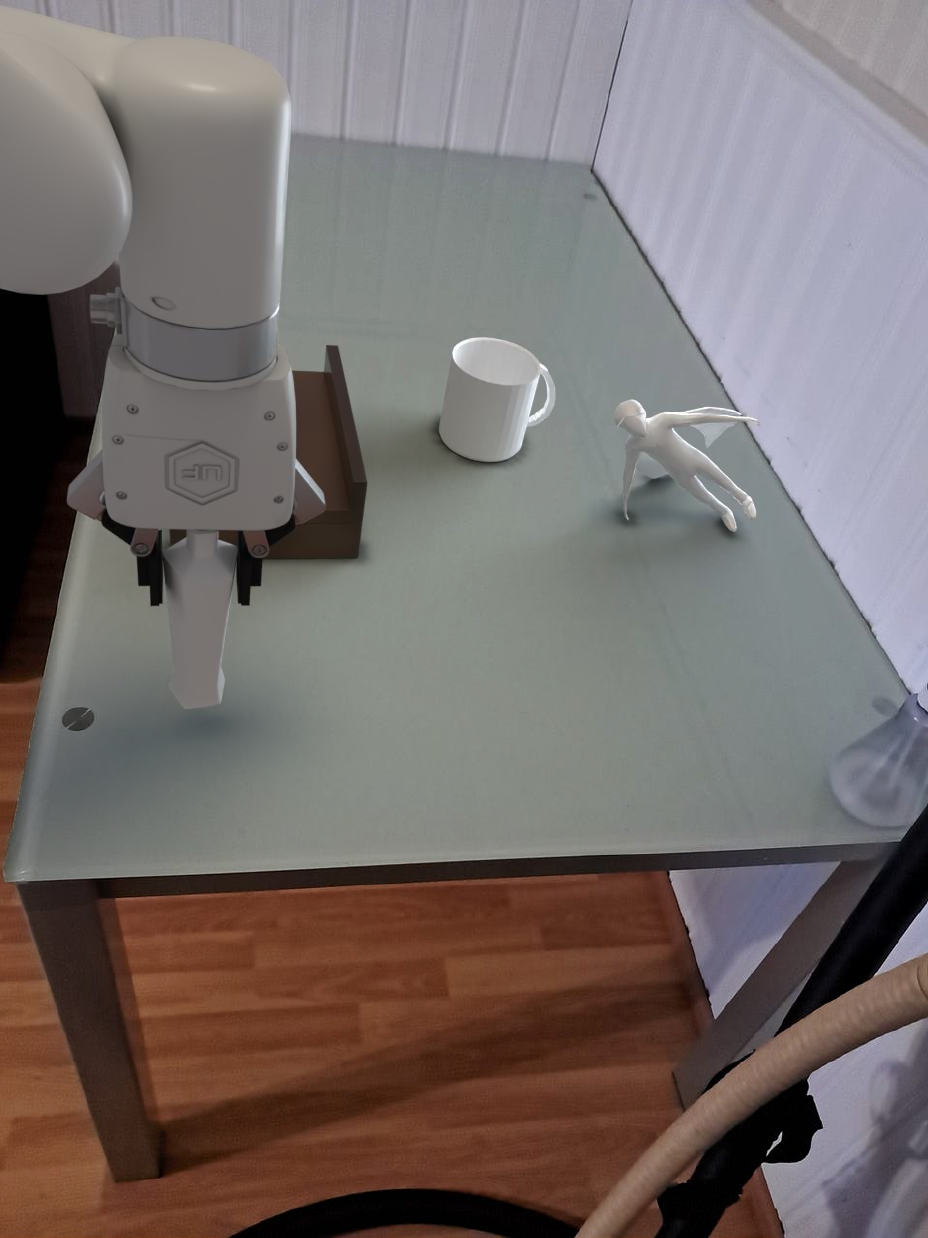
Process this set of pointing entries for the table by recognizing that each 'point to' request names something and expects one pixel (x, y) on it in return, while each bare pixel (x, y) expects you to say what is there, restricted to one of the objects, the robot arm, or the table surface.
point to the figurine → (679, 452)
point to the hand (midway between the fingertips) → (200, 588)
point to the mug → (491, 398)
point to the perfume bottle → (198, 614)
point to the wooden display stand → (322, 468)
